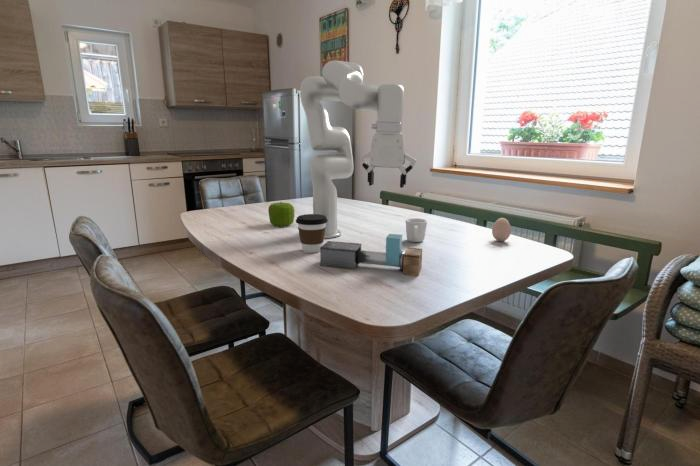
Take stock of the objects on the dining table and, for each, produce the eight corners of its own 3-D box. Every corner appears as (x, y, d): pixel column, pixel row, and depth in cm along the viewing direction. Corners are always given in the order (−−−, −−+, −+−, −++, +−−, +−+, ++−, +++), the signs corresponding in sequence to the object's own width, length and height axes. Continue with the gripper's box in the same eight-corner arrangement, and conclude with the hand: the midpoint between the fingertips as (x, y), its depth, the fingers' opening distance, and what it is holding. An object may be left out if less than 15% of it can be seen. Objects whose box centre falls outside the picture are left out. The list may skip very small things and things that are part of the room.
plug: (351, 267, 122) (351, 235, 119) (356, 262, 127) (356, 231, 124) (414, 273, 117) (416, 240, 114) (417, 267, 122) (418, 235, 119)
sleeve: (320, 266, 123) (320, 247, 122) (328, 258, 131) (328, 241, 129) (354, 269, 120) (354, 250, 119) (361, 261, 128) (361, 243, 126)
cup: (425, 246, 145) (426, 224, 143) (403, 245, 147) (404, 223, 145) (426, 238, 155) (427, 218, 153) (405, 237, 157) (406, 217, 155)
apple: (299, 224, 178) (298, 200, 175) (283, 229, 169) (282, 204, 167) (280, 221, 184) (279, 198, 181) (264, 226, 175) (262, 201, 172)
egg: (488, 241, 152) (490, 218, 150) (495, 238, 157) (497, 215, 154) (505, 244, 147) (507, 220, 145) (512, 241, 152) (514, 217, 150)
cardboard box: (402, 274, 117) (403, 254, 115) (406, 266, 124) (407, 247, 122) (418, 275, 115) (419, 256, 114) (421, 267, 122) (422, 248, 121)
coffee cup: (303, 256, 132) (302, 221, 129) (292, 248, 142) (291, 215, 139) (333, 252, 137) (332, 218, 134) (320, 244, 147) (320, 212, 144)
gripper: (357, 128, 117) (356, 185, 122) (416, 129, 112) (412, 189, 117) (364, 127, 124) (362, 182, 129) (420, 129, 119) (416, 186, 124)
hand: (386, 186), depth 123 cm, fingers open, 9 cm apart
